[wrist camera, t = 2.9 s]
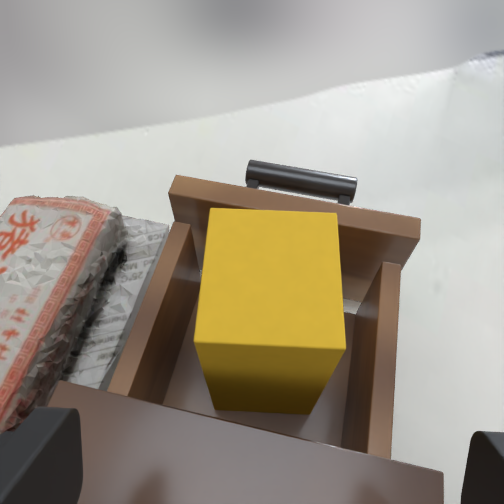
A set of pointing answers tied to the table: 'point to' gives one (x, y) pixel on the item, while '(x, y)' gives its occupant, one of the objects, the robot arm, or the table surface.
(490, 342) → the table surface
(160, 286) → the drawer
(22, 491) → the robot arm
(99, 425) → the cabinet
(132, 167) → the table surface
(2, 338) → the packaged product
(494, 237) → the table surface
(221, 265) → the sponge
